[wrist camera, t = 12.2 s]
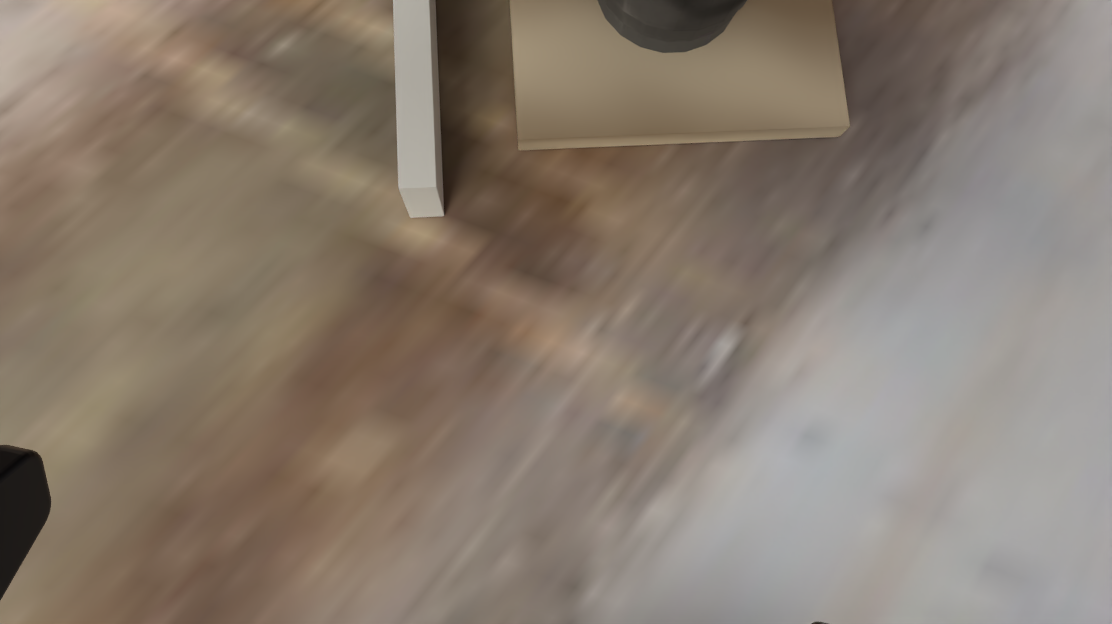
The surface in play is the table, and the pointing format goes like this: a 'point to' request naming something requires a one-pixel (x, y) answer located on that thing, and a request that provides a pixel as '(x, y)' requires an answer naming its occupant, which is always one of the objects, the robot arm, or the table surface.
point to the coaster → (675, 78)
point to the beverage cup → (670, 21)
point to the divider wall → (418, 107)
